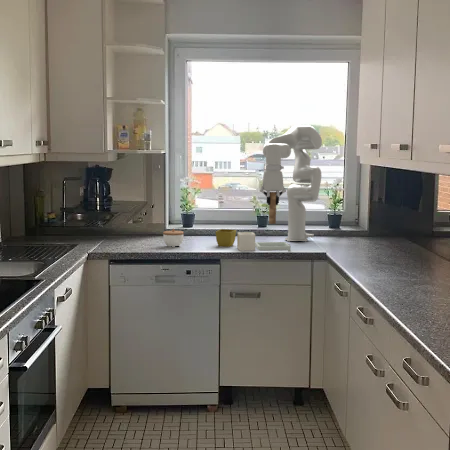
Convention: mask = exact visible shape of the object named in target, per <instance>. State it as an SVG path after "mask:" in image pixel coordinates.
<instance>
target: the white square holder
mask: <svg viewBox="0 0 450 450" xmlns="http://www.w3.org/2000/svg"><path fill="white" fill-rule="evenodd" d="M236 234H237V235H236V239H237V246H236V248H237V250H238V251H241V252H242V251H244V252H245V251H256V247H255V242H256V234H255V232H253V231H251V232H250V231H248V232H247V231H246V232H245V231H244V232H242V231H241V232H240V231H239V232H238V231H236Z"/></svg>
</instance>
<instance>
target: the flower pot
mask: <svg viewBox="0 0 450 450" xmlns="http://www.w3.org/2000/svg"><path fill="white" fill-rule="evenodd" d="M236 234H237V229H223V228H221V229H219V230H216V231H215V238H216V244H217V245H218V247H227V248H230V247H232V246H234V243H235V241H236V238H237V235H236Z"/></svg>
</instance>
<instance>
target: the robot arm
mask: <svg viewBox="0 0 450 450" xmlns="http://www.w3.org/2000/svg"><path fill="white" fill-rule="evenodd" d="M322 145H323V139H322V137H321V134H320V133H319V131H317V129H316V128H315V127H313V126H311V125H294V126H292V127H290V128H289V129H288V130H287V131H286V132H285V133H284V134H281V135H279V136H276V137H273V138H270V139H269V140H268V141H267V142H266V143H265V144H264V145H263V148H262V154H263V156H264V157H265V170H264V171H263V178H262V186H261V188H260V189H259V192H260V193H262V195H264V196H265V197H266V204H267V206H269V205H270V192H276V206H278V205H279V203H280V197H281V196H282V195H283V194H285V193H286V195H287V203H288V204H287V205H288V213H287V215H288V217H287V218H288V219H287V220H288V221H287V237H285V239H284V241H286V240H287V241H286V242H290V241H305V242H308V241H307V240H309V239H308V238H314V235H315V234H314V233H307V232H306V207H305V205H304V203H303V202H305V203H306V202H307V203H309V202H310V203H314V202H316V201H318V198H319V193H320V188H321V183H322V171H321V168H320V167H319V166H315V165H313V166H311V156H310V154H309V153H308V152H307V151H306V150H319V149H320V148H321V147H322ZM292 150H293V153H294V156H295V157H294V158H295V159H294V160H295V162H294V166H293V172H292V180H293V181H294V182H295V183H293V184H290V185H289V186H288V187H287V189H286V187H285V186H284V175H283V171H282V170H284V169H285V168H284V166H283V165H282V159H287V158H289V157H290V156H291V153H292Z"/></svg>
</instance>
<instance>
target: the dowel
mask: <svg viewBox="0 0 450 450" xmlns="http://www.w3.org/2000/svg"><path fill="white" fill-rule="evenodd" d="M269 196H270V205H268V206H269V207H268V208H269V210H268V211H269V212H268V224H269V225H276V224H277V222H276V221H277V205H276V191H270V194H269Z"/></svg>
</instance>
